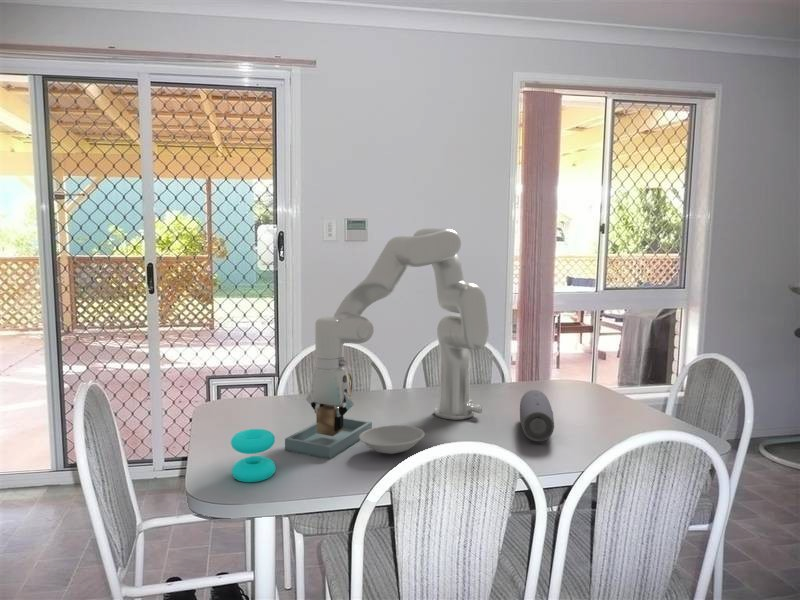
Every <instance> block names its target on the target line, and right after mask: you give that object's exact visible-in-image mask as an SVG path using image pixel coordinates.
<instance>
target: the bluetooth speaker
mask: <svg viewBox="0 0 800 600" xmlns="http://www.w3.org/2000/svg"><path fill="white" fill-rule="evenodd" d="M519 421H520V425H521V428H522V431H523V433H524V435H525V436H526V437H527V438H528V439H530V440H531V441H534V442H543V441H546V440H548V439H550V437H551V436H552V435H553V432H554V430H555V419H554V412H553V408H552V405H551V403H550V401H549V399H548V397H547V395H545V393H543V392H542V391H541V390H537V389H531V390H528V391H526V392H525V393H524V394H523V396H522V397H521V399H520V404H519Z"/></svg>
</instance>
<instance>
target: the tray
mask: <svg viewBox="0 0 800 600" xmlns="http://www.w3.org/2000/svg"><path fill="white" fill-rule="evenodd" d="M371 428H373V422H372V421H367V420H361V419H356V418H355V419H354V418H349V417H344V416H343V428H342V431H341V432H339V433H338V434H336V435H334V436H328V435H323V434H318V433H317V421H316V422H314V423H312V424H310V425H309V426H307V427H305V428H302V429H300V430H299V431H297V432H295V433H293V434H291V435H289V436H287V437H285V438H284V450H285V452H286V451H287V452H290V453H291V452H293V453H295V454H303V455H306V456H309V457H310V456H311V457H315V458H321V459H326V460H332V459H333V458H335V457H336V456H338V455H340V454H341V453H343V452H345V451H347V450H348V449H349V448H350V447H352V446H353V445H355V444H357V443H359V442H361V440H360V439H359V435H360V434H361V433H362V432H364V431H366V430H368V429H371Z"/></svg>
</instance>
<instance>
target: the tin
mask: <svg viewBox="0 0 800 600" xmlns="http://www.w3.org/2000/svg"><path fill="white" fill-rule="evenodd" d="M347 374H348V379H349V390H350V397H351V395H352V393H353V392H352V391H353V378H352V375H351V373H349V372H347Z"/></svg>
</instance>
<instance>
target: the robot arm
mask: <svg viewBox="0 0 800 600" xmlns="http://www.w3.org/2000/svg"><path fill="white" fill-rule="evenodd" d="M461 245H462V241H461V237H460V235H459V234H458V232H456V231H455V230H453V229H451V228H433V227H431V228H430V227H428V228H427V227H426V228H422V229H419V230H416V232H414V234H413V235H412V236H411V235H410V236H405V235H403V236H402V235H401V236H399V235H398V236H394V237H392V238H390V239H389V241H387V243H386V244H385V246H384V248H382V251H381V253H380V254H379V256H378V258H377V260H376V261H375V263H374V265H372V268H371V270H370V271H369V273H368V274H367V276H366V277H365V278H364V279H363V280H362V281H360V283H358V284H357V285H356V286H355V287H354V288H353V289H352V290H350V292H349V293H347V295H346V296H345V297H344V299H343V300H342V301H341V302H340V304H339V306H338V307H337V309H336V311H335V313H334V314H333V316H325V317H319V318H317V319H316V320H315V324H314V332H315V334H314V337H315V341H314V345H315V347H314V348H315V357H314V358H315V366H314V367H313V371H312V375H311V383H310V384H311V386H310V392H309V394H308V396H306V399H305V400H306V402H308V404H310V406H311V408H312V409H313V410H314V413H315V414H316V416H315V417H316V418H317V408H319V407H321V406H323V405H331V406H334V408H335V412H336V417H335V431H339V430H340V429H342V428H343V417H344V415H345V414H346V413H347V412H348V411H349V410H350V409H353V408H354V406H355V404H354V402H353V401H352V399H351V396H350V390H349V379H348V374H347V373H348V370H347V368H346V366H347V365H348V361H347V360H345V357H344V344H353V345H354V344H357V345H359V344H364V343H366V342H368V341H370V340H371V338H372V337H373V334H374V326H373V323H372V322H371V320H369V319H368V318H367V317H364V316H361V315H362V314H363V313H364V311H365V310H366V309H367V308H368V307H369V306H371V305H372V304H374V303H375V302H378V301H380V300H382V299H385V298H387V297H388V296H390V295H392V293H393V292H394V291H395V290H396V287H397V286H398V285H399V282H400V281H401V278H403V275H404V274H405V272H406V270H407V268H408V267H409V268H420V267H421V268H422V267H425V266H429V265H431V266H432V268H433V272H434V278H435V285H436V294H437V302H438V305H439V306H440V308H441V309H442V310H444V311H446V312H451V313H454V314H448V315H445V316H444V317H442V318H441V319H440V320H439V322H438V324H437V328H436V329H437V330H436V334H437V336H436V337H437V341H438V347H439V396H438V397H439V402H438V403H439V406H437V407H435V408H434V411H433V412H434V415H435V416H437V418H441V419H445V420H452V421H453V420H455V421H457V420H459V421H460V420H467V419H470V418H472V417H474V415H475V413H477V414H482V413H483V407H482V406H481V405H480V404H474V403H473V399H471V397H470V395H471V394H470V391H471V389H470V388H471V386H470V384H471V379H470V378H471V354H470V351H469V350H471V351H479V350H481V349H482V348H484V347H485V346H486V344H487V343H488V341H489V333H490V330H489V318H488V317H489V316H488V307H487V299H486V296H485V293H484V291H483V290H482V288H481V287H480V286H479V285H477V284H475V283H473V282H466V281H465V279H464V274H463V267H462V263H461V260H460V257H459V255H458V253H459V252H460V250H461ZM344 404H345V405H344Z"/></svg>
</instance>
